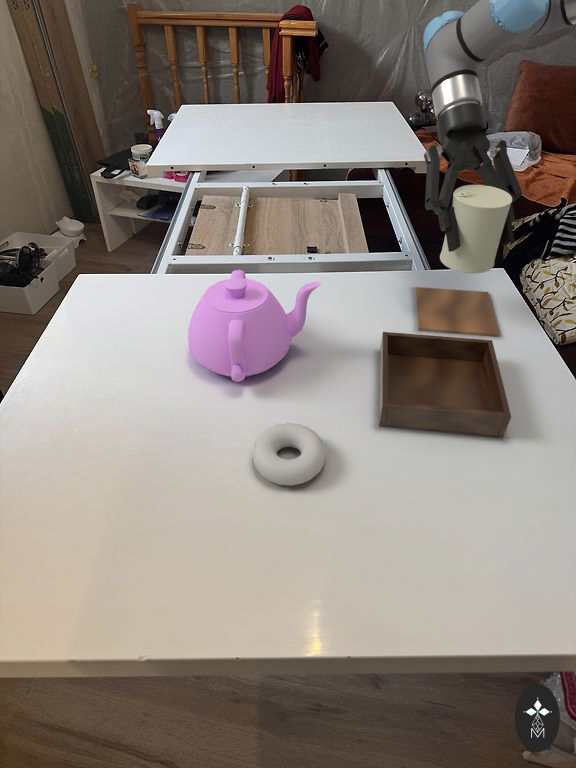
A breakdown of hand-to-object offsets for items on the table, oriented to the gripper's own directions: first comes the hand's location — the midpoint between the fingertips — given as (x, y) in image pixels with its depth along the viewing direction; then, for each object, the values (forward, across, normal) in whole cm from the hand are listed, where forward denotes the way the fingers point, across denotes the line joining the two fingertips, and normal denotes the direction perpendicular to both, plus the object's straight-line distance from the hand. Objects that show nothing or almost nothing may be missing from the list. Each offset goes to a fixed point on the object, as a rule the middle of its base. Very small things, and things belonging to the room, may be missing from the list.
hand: (481, 246), depth 87 cm
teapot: (+11, +39, -10) cm, 42 cm away
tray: (+23, +12, +1) cm, 26 cm away
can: (+1, 0, -6) cm, 6 cm away
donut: (+29, +38, +7) cm, 48 cm away
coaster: (+8, 0, -13) cm, 15 cm away
